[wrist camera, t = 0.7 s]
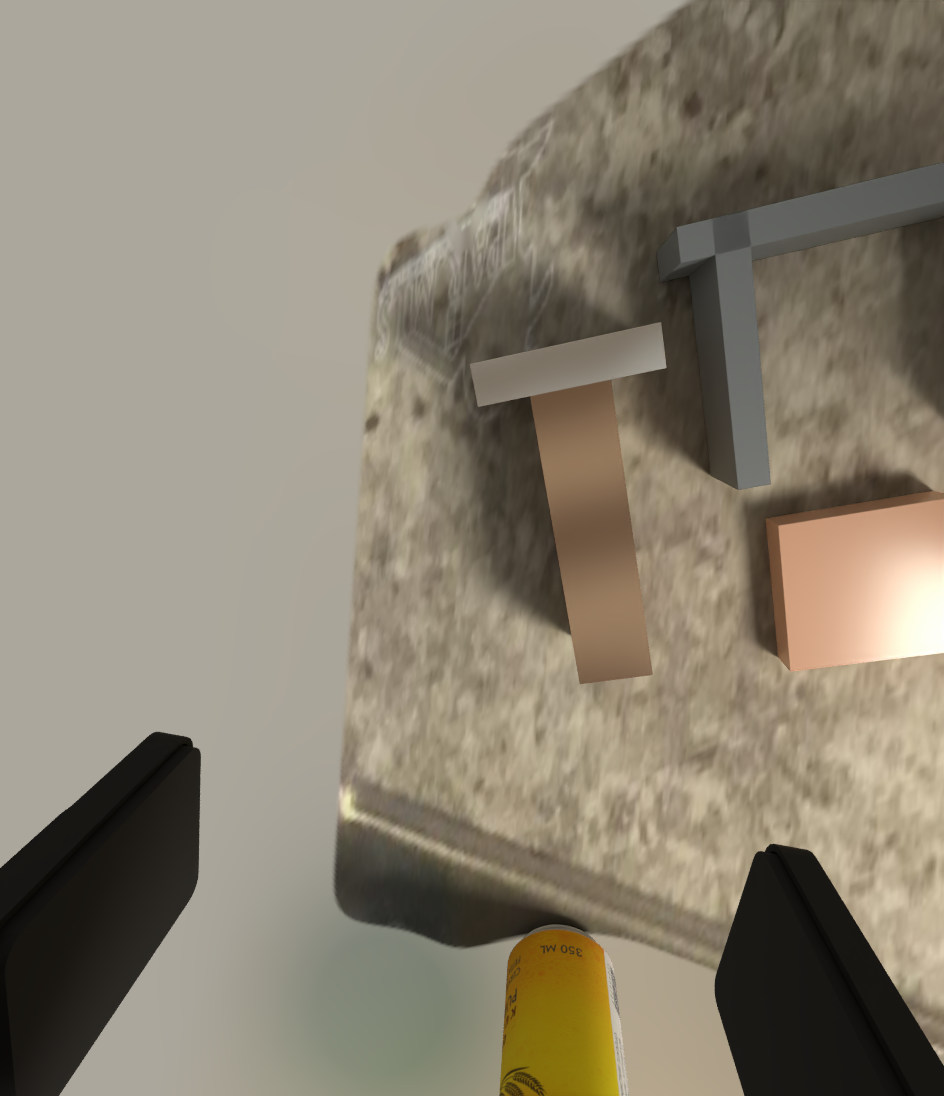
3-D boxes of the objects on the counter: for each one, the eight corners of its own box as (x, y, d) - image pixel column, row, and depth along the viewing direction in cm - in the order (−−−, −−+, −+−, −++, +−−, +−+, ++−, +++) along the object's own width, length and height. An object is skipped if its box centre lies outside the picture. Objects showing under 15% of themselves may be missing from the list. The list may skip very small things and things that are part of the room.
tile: (926, 489, 27) (956, 496, 25) (930, 632, 28) (958, 650, 26) (762, 516, 28) (778, 525, 26) (774, 652, 29) (790, 671, 27)
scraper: (676, 622, 29) (702, 668, 24) (534, 642, 30) (533, 690, 25) (639, 334, 26) (661, 321, 21) (482, 368, 27) (469, 364, 22)
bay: (1025, 164, 23) (1122, 118, 19) (1021, 420, 25) (1108, 426, 21) (656, 252, 25) (676, 227, 21) (683, 480, 27) (706, 495, 23)
